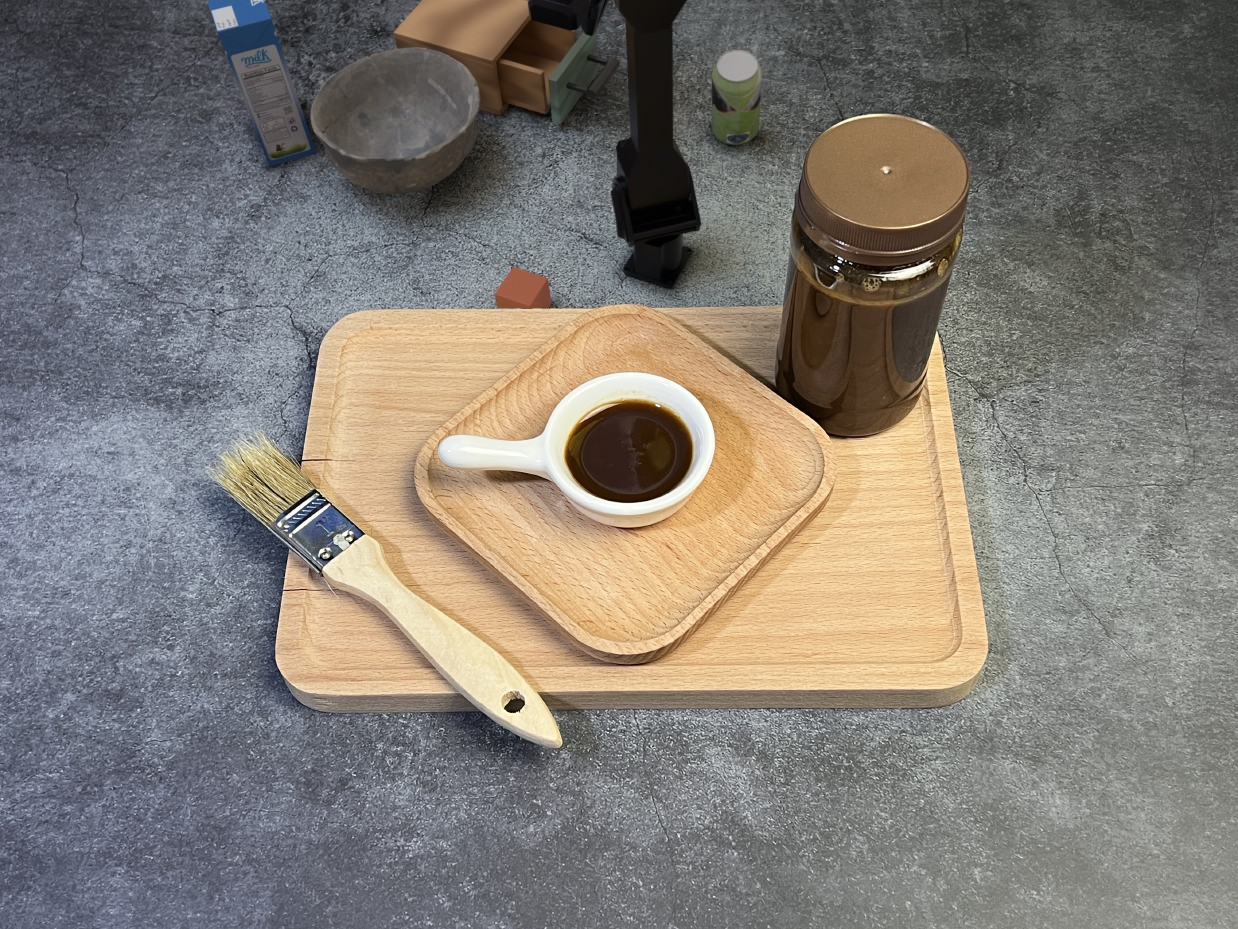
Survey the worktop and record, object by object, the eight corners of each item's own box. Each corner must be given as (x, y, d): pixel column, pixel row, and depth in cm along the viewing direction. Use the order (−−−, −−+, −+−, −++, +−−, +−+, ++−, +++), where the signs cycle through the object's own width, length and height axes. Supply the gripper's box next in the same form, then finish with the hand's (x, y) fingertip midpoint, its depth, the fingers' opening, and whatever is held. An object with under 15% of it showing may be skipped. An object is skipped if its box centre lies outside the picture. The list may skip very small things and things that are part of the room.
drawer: (627, 80, 147) (626, 36, 141) (590, 133, 142) (587, 90, 136) (510, 47, 152) (504, 3, 146) (469, 97, 146) (462, 54, 140)
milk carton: (316, 153, 142) (271, 18, 126) (269, 167, 141) (217, 32, 125) (299, 106, 148) (253, -30, 131) (253, 119, 146) (201, -17, 130)
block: (533, 332, 125) (529, 306, 122) (499, 319, 127) (494, 293, 123) (551, 304, 128) (548, 278, 124) (517, 292, 129) (513, 266, 125)
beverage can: (758, 118, 144) (766, 38, 134) (757, 157, 140) (764, 78, 130) (710, 116, 144) (714, 36, 134) (707, 154, 140) (711, 76, 130)
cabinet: (543, 58, 151) (538, 3, 144) (500, 115, 145) (492, 60, 138) (451, 33, 155) (441, -23, 148) (405, 87, 149) (393, 32, 142)
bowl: (395, 91, 149) (379, 27, 140) (522, 142, 143) (513, 77, 134) (296, 186, 139) (273, 123, 131) (427, 245, 133) (412, 182, 125)
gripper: (556, -145, 129) (565, -24, 142) (479, -59, 120) (496, 62, 134) (642, -125, 127) (643, -4, 140) (570, -35, 118) (578, 85, 131)
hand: (589, 33), depth 136 cm, fingers closed
